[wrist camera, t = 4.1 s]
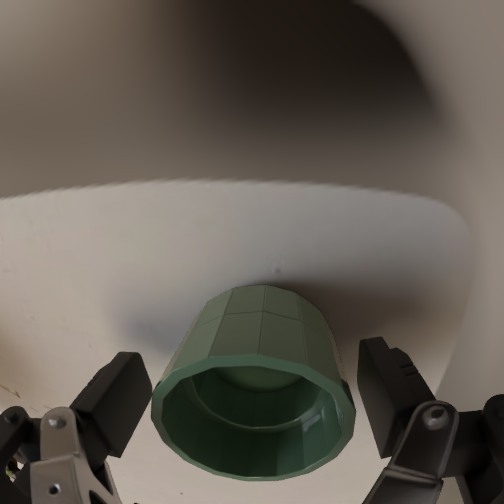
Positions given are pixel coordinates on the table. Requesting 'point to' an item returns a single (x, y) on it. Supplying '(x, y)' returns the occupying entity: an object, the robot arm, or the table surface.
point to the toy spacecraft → (14, 465)
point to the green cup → (255, 388)
